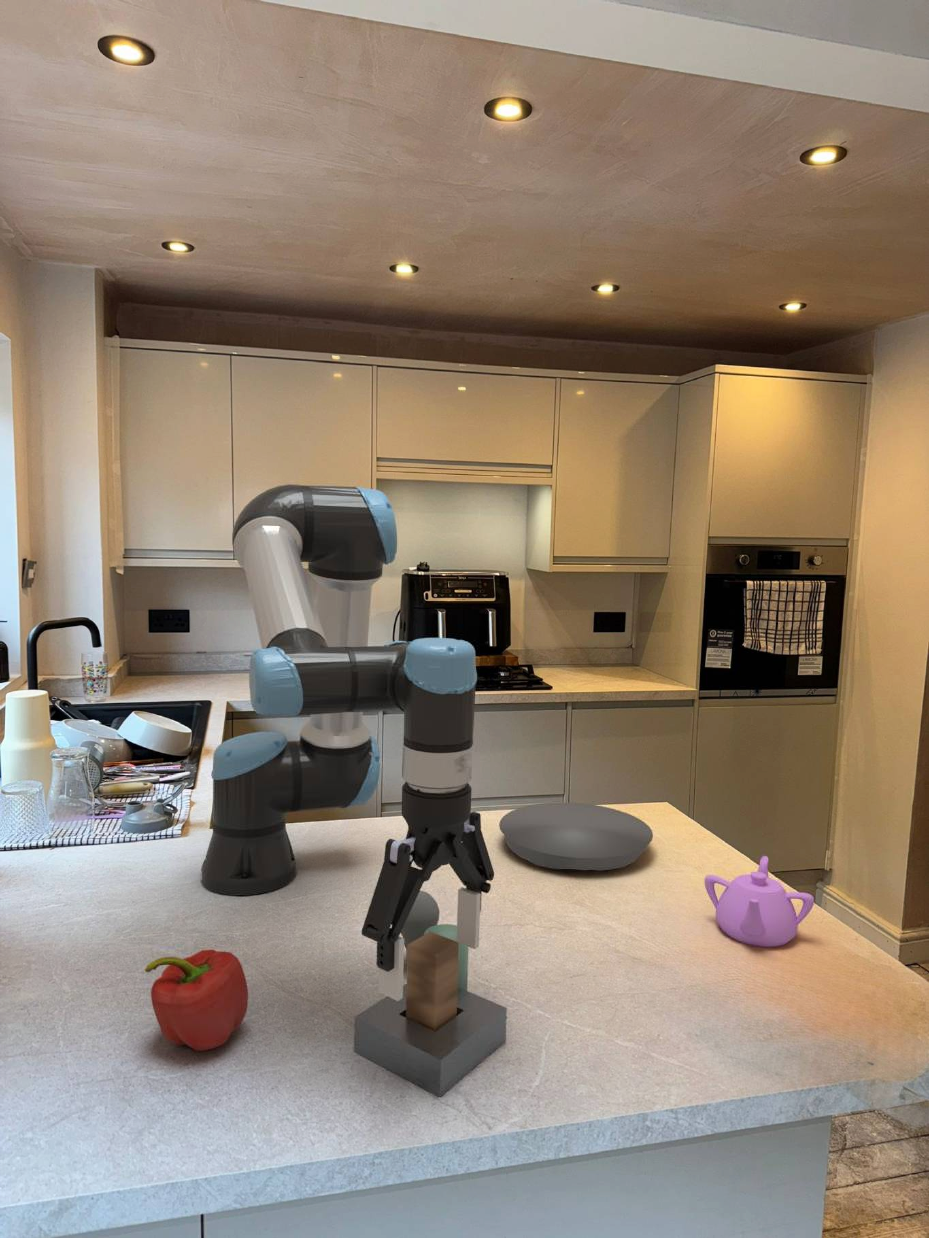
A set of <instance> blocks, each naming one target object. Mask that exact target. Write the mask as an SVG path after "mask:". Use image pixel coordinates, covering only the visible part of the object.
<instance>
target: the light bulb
mask: <svg viewBox="0 0 929 1238" xmlns="http://www.w3.org/2000/svg"><path fill="white" fill-rule="evenodd" d="M439 920H440V908H439V905H438V903H437V901H436V899H435V898H434V897H433V896H432V895H431V894H430V893H428V892H427V891H424V890H420V891H419V894H418V896H417V898H416V900H415V902H414V904H413V907H412V909H411V911H410V913H409V915H408V918H407V920H406V922H405V924H404V926H403V928H402V931H401V933H400V935H401V937H402V938H404V949H405V963H406V964H407V946H408V944H410V943H412V942H413V941H415V940H417V939H418V938H420V937H422V936H424V933H425V931H426V930H427V929H428V928H430V927H432V926H435V925H439Z"/></svg>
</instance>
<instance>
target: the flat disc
mask: <svg viewBox="0 0 929 1238" xmlns="http://www.w3.org/2000/svg"><path fill="white" fill-rule="evenodd" d="M499 830H500V831H501V833H502V834H503V837H504V840H505V842H506V844H507V846H508V847H509V849H510V850H511V851H512V853H514V854H515V855H517V856H518V857H519V858H521V859H523V860H528V862H530V863H532V864H534V865H536V866H539V867H544V868H547V869H554V870H565V869H566V870H570V869H572V870H580V871H589V870H591V871H598V872H599V871H609V870H614V869H621V868H624V867H627V866H628V865H629V864H633V863H634V862H635V861H637V859H639V858H640V856H641V854H642V853H645V852H646V849H647V848H648V845H650V844H651V842H652V840H653V837H654V833H653V830H652V829H651V827H650V826H649V825H648V823H646V822H644V821H643V820H642V819H640V818H639V817H636V816H634V815H632V814H630V813H627V812H625V811H622V810H619V809H615V808H612V807H606V806H603V805H596V804H590V803H579V802H563V801H562V802H561V801H559V802H558V801H557V802H546V803H545V802H544V803H543V802H542V803H535V804H530V805H526V806H522V807H519V808H516V809H512V810H511V811H509V812H507V813H506V814H504V815H503V816H502V818H501V819H500V821H499Z"/></svg>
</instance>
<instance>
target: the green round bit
mask: <svg viewBox="0 0 929 1238" xmlns="http://www.w3.org/2000/svg"><path fill="white" fill-rule="evenodd" d="M429 932H433V933H436V934H438V935H441V936H443V937H446V938H449V939H451V940H454V941H456V939H457V924H456V925H455V924H450V923H449V924H448V923H447V924H446V923H444V924H443V923H442V924H437V925H435V926H432V927H430V928H428V929H427V930H426V931H425V933H424V935H425V934H427V933H429ZM468 973H469V947H468V946H465V945H463V944H461V943H459V947H458V984H457V987H459V988H461V989H464V990H466V991H468V982H469V981H468V978H469V977H468V976H469V975H468Z"/></svg>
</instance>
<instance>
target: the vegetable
mask: <svg viewBox="0 0 929 1238" xmlns="http://www.w3.org/2000/svg"><path fill="white" fill-rule="evenodd" d="M160 966H166V967H165V969H164V970H163V971H162V972H161V975H160V977H158V978H156V979H155V981H154V982H153V983H152V987H151V990H150V997H151V1006H152V1008H153V1012H154V1015H155V1018H156V1021H157V1023H158V1025H159V1028H160V1030H161V1033H162V1034H163V1036H164V1037H165V1038H166V1039H167V1040H168V1041H169V1042H171V1043H173V1044H175V1045H179V1046H182V1045H187V1046H188V1047H191V1049H194V1050H195V1051H197V1052H198V1051H200V1052H201V1051H203V1052H204V1051H208V1050H211V1049H215V1048H217V1047H220V1046H222V1045H224V1044H225V1043H226V1042H227V1041H228V1040H229V1038H230V1036H231V1034H232V1032H233V1031H234V1030H236V1029H237V1028H239V1027H240V1026H241V1024H242V1022H243V1020H244V1018H245V1016H246V1014H247V1011H248V1010H247V1009H248V1005H249V1001H248V1000H249V992H248V983H247V979H246V976H245V972H244V969H243V966H242V964H241V962H240V960H239V958H238V957H237V956H236V955H235V954H234V953H232V952H229V951H225V950H224V951H222V950H220V951H219V950H215V949H202V950H200V951H198V952H197V953H195V954H192V955H191V956H187V957H185V958H181V957H176V956H168V957H167V956H164V957H160V958H157V959H154V960H153V961H151V962H150V963H149V964H148V965H147V966H146V967H145V969H144V971H145V972H146V973H150V972H152V971H156V970H157V968H159V967H160Z"/></svg>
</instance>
